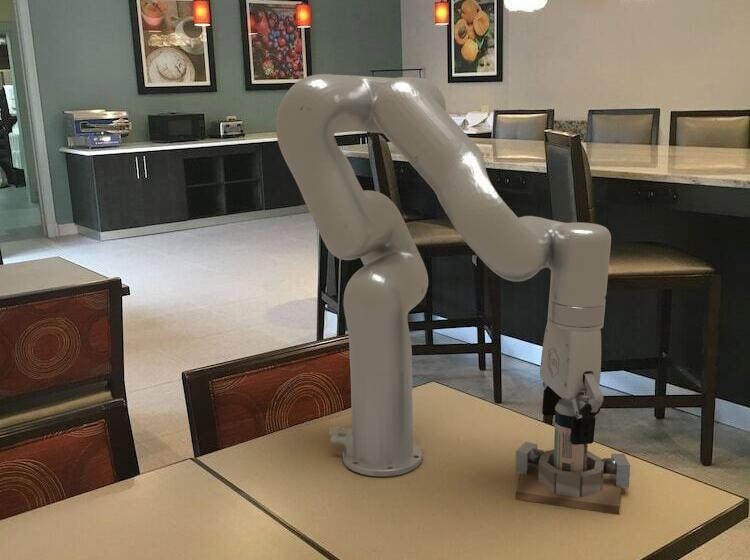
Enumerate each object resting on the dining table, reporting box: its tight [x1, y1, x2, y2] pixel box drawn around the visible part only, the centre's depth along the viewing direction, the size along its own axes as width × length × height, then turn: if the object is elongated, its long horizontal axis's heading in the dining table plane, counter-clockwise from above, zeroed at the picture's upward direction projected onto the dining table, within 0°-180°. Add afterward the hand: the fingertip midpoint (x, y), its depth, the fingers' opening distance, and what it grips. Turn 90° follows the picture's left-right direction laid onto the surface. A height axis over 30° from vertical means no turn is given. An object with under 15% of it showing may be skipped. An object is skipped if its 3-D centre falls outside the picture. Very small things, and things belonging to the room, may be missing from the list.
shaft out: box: [602, 453, 631, 489], centre depth 114 cm, size 3×4×4 cm
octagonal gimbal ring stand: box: [515, 448, 622, 515], centre depth 114 cm, size 14×11×4 cm
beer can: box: [553, 399, 589, 473], centre depth 113 cm, size 5×5×12 cm
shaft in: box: [515, 441, 545, 475], centre depth 117 cm, size 3×4×4 cm
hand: (566, 428), depth 113 cm, fingers open, 9 cm apart
